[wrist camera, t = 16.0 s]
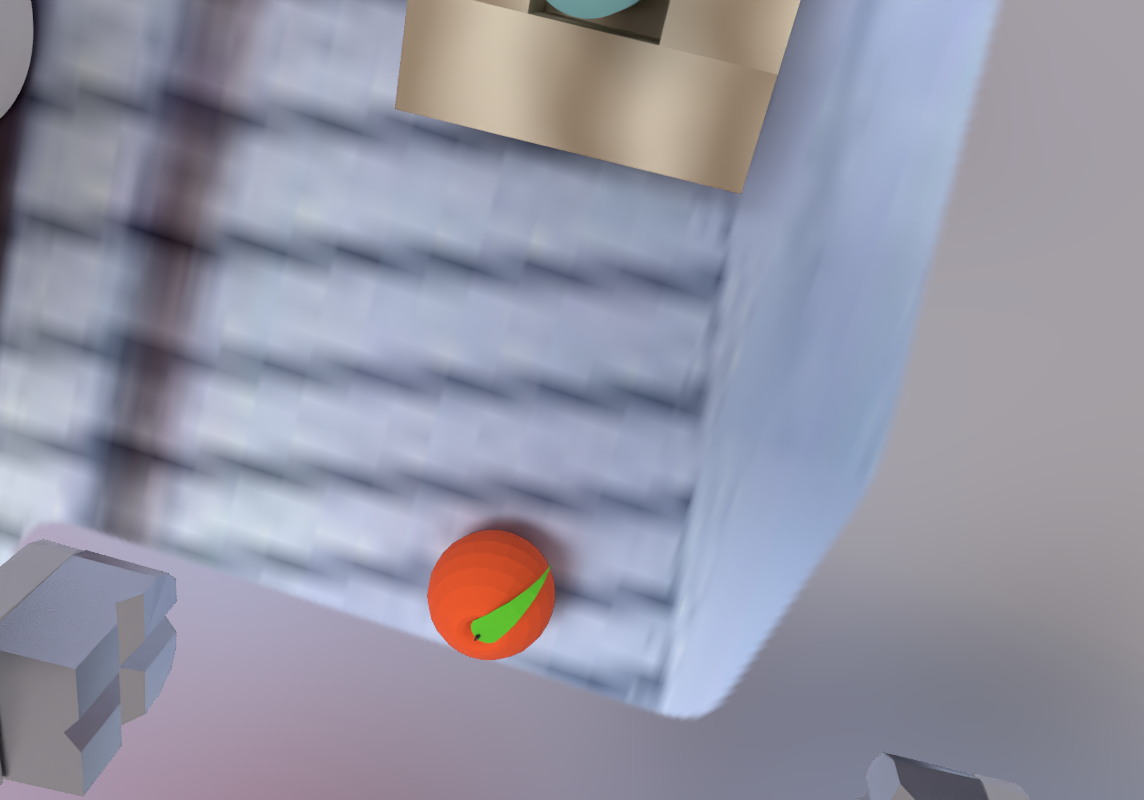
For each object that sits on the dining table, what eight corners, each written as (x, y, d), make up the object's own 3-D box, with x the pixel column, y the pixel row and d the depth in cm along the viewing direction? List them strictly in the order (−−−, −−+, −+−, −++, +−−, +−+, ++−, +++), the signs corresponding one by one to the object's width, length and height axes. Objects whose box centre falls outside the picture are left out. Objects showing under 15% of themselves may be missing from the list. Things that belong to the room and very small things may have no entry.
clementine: (520, 474, 47) (494, 549, 41) (601, 557, 49) (589, 642, 43) (421, 545, 50) (383, 626, 44) (501, 622, 52) (475, 710, 46)
